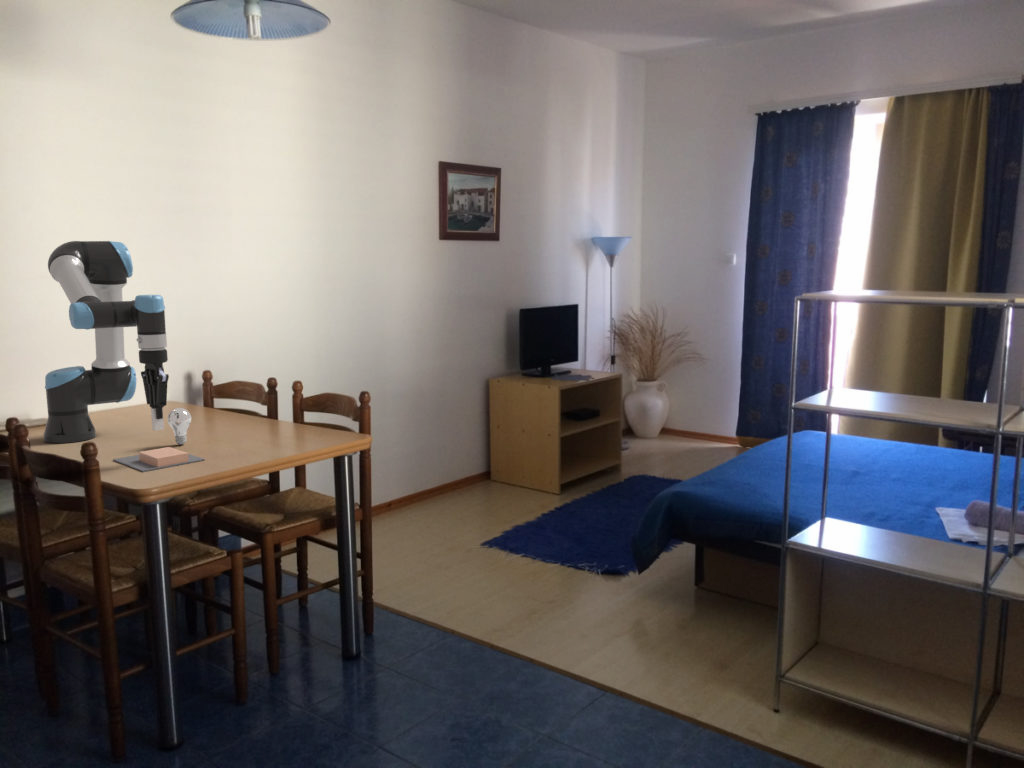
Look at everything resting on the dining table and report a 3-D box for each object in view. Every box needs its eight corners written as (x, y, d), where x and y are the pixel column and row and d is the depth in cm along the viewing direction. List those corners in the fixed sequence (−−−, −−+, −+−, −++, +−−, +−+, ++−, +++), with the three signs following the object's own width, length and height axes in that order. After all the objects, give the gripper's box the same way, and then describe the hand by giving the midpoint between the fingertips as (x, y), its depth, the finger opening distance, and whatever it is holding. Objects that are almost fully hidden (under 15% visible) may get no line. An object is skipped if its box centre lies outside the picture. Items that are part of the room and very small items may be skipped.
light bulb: (172, 448, 256) (170, 410, 254) (167, 444, 262) (164, 407, 260) (195, 445, 260) (193, 408, 258) (189, 441, 266) (187, 405, 264)
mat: (113, 460, 241) (113, 459, 241) (173, 450, 254) (173, 448, 254) (143, 472, 228) (142, 470, 227) (204, 460, 241) (204, 459, 241)
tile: (138, 452, 239) (157, 458, 231) (169, 446, 245) (188, 453, 237) (139, 460, 239) (157, 467, 231) (169, 455, 246) (188, 461, 238)
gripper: (129, 348, 237) (135, 428, 240) (149, 351, 228) (155, 434, 232) (155, 346, 242) (160, 424, 246) (176, 349, 234) (181, 430, 237)
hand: (158, 429), depth 239 cm, fingers closed
